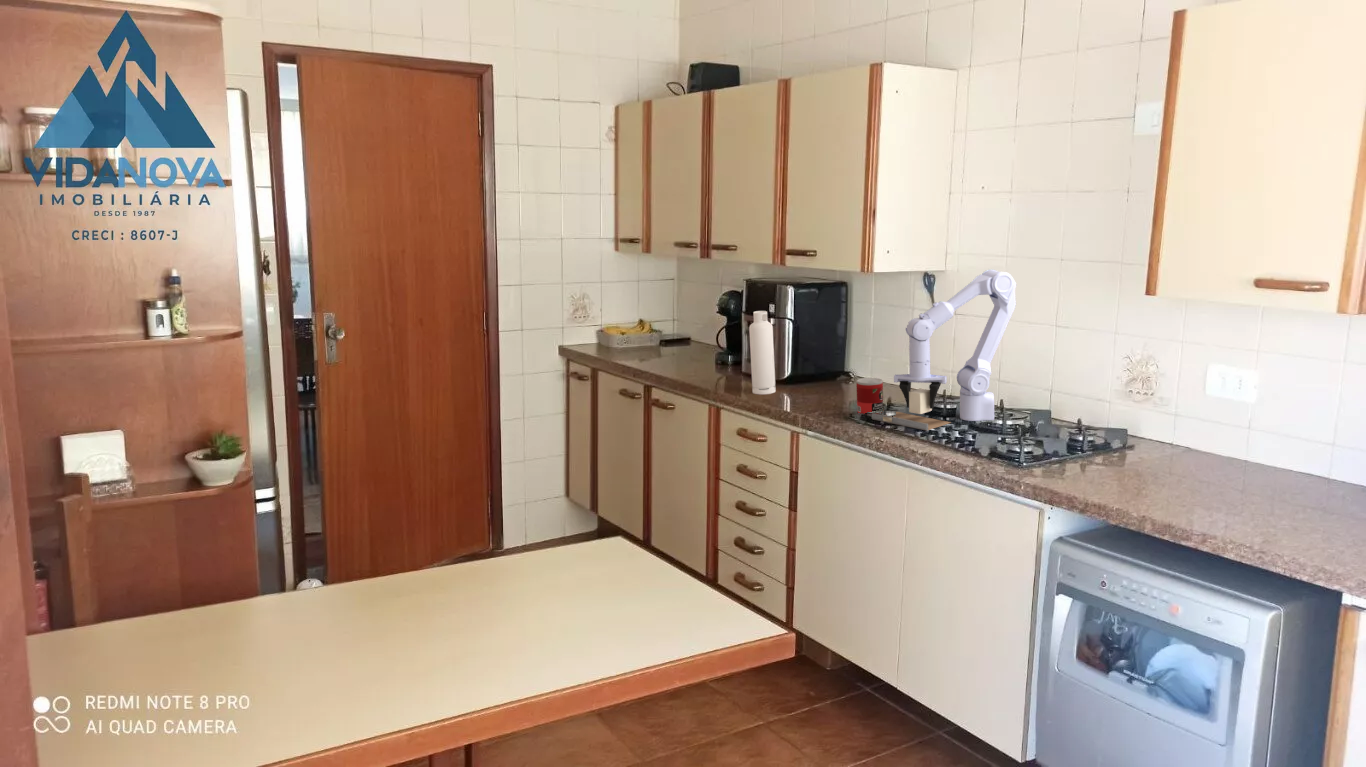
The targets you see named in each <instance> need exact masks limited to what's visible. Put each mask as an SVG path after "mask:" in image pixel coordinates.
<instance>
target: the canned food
mask: <svg viewBox="0 0 1366 767" xmlns="http://www.w3.org/2000/svg"><path fill="white" fill-rule="evenodd" d="M855 386H856V410H857V411H856V413H857V412H858V413H860V414H859V415H861V414H863V415H864V414H865V413H867V412H872V411H876V410H879V409H882V408H883V409H884V381H883V379H882V378H877V377H863V378H858V379H857V380H856V385H855ZM865 415H866V414H865Z"/></svg>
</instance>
